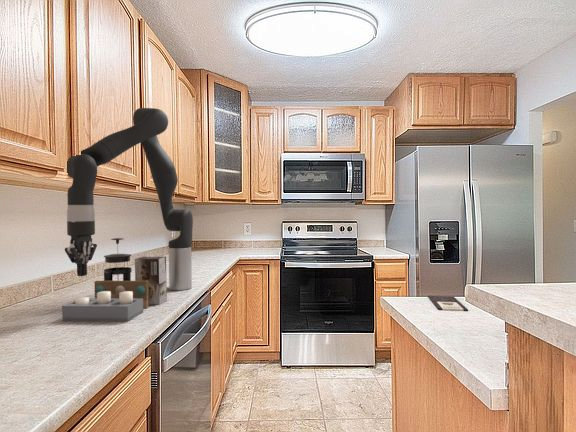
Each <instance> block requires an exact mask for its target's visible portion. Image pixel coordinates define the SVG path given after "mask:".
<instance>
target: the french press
mask: <svg viewBox="0 0 576 432" xmlns="http://www.w3.org/2000/svg"><path fill="white" fill-rule="evenodd" d="M123 240H124V238H122V237H115V238H111V241H115V244H116V253H111V254H107V255H103V258H104V263H106V264H107V263H108V264H116V266H115V267H110V268H109V267H108V268H105V269H103V281H114V280H113V276H115V275H116V276H117V280H116V281H120V280H119V278H120V277H119V275H122V281H132V279H131V277H132V276H131V275H132V270H133V269H132V267H129V266H128V267H126V266H119V264H120V263H126V262H127V263H128V262H131V256H132V254H130V253H119V243H120V241H123Z"/></svg>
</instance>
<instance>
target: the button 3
mask: <svg viewBox="0 0 576 432" xmlns="http://www.w3.org/2000/svg"><path fill="white" fill-rule="evenodd" d="M131 303H133V292H132V291H124V292H120V293H119V304H131Z"/></svg>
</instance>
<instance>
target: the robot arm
mask: <svg viewBox="0 0 576 432" xmlns="http://www.w3.org/2000/svg"><path fill="white" fill-rule="evenodd" d="M132 122H133V125H132V126H130V127H127V128H125V129H121V130H119V131H115V132H113V133H111V134H109V135H107V136H105V137H102V138H101V139H100V140H98V141H96V142H95V143H93V144H92V145H91V146H88V147H87V148H84V149H82V150H80V151H81V155H76V156H72V155H71V156H72V157H70V156H69V157H70V158H69V157H68V158H69V159H68V161H67V173H68V175H69V176H68V175H67V176H68V177H70V178H72V185H71V186H70V187H68V189H67V194H66V195H67V209H66V234H67V236H70V241H69V244H70V245H69V246H68V247H65V248H64V252H65V254H66V255H67V257H68V258H69V260H70V262H71V264H75V265H76V275H77V276H78V277H86V276H87V275H88V263H89V261H92V260H93V257H94V255H95V252H96V249H97V247H98V244H97V243H93V238H92V236H94V235H95V234H96V219H95V218H96V213H95V206H94V205H95V203H94V200H95V199H94V197H95V196H94V190H95V186H96V182H97V176H98V167H99V166H101V165H102V166H103V165H105V164H108V163H110V162H111V161H113V160H114V159H116V158H117V157H119V156H120V155H121V154H123V153H125V152H127V151H128V150H129V149H131V148H133V147H135V146H137V145H138V144H141V146H142V149H143V151H144V155H145V158H146V161H147V163H148V166H149V171H150V174H151V178H152V181H153V184H154V187H155V190H156V194H157V197H158V200H159V204H160V210H161V214H162V215H161V217H162V220H163V223H164V226H165V228H166V230H167V231H169V232H179V236H177V237H176V238H173V239H171V240H169V241H168V289H169V290H170V291H186V290H190V289H192V287H193V283H192V280H193V277H192V276H193V275H192V267H193V266H192V242H193V230H194V229H193V226H194V223H193V222H194V217H193V213H192V211H191V210H190V209H186V208H185V209H183V208H181V209H178V208H174V205H173V196H174V193H175V190H176V189H177V186H178V183H179V182H178V180H179V179H178V178H179V177H178V174H177V171H176V168H175V167H176V166H175V165H174V162H173V161H172V159H171V157H170V156H169V155H168V153H167V152H166V151H165V149H164V148H163V147H162V145H161V143H160V141H159V139H158V136H159V135H161V134H163V133H164V132H165V131H166V130H167V129H168V127H169V126H168V125H169V117H168V115H167V114H166V112H165V111H163V110H162V109H159V108H155V107H153V108H151V107H139V108H137V109H136V110H134V112H133V116H132Z"/></svg>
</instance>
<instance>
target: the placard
mask: <svg viewBox="0 0 576 432" xmlns="http://www.w3.org/2000/svg"><path fill="white" fill-rule="evenodd" d="M101 291H111V298H119V293H120V292H124V291H132V292H133V298H143V309H149V304H148V281H135V280H131V281H123V280H119V281H118V280H113V281H104V280H94V298H97V293H98V292H101Z"/></svg>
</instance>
